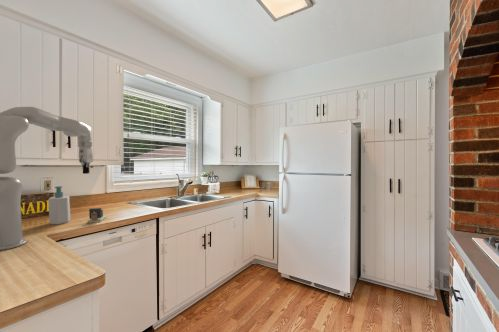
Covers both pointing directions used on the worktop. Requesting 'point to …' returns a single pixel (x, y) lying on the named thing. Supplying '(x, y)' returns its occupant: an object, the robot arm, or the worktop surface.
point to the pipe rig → (96, 217)
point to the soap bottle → (59, 208)
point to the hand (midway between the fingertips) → (86, 173)
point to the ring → (95, 211)
